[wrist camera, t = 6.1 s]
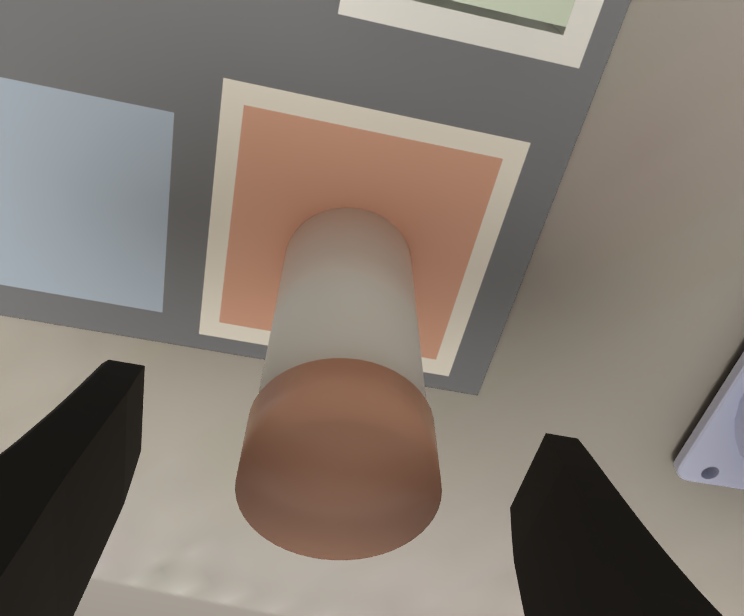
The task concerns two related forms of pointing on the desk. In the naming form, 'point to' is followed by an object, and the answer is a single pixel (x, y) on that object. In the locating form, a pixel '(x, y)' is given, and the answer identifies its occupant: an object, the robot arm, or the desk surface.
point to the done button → (530, 9)
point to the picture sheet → (269, 164)
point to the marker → (342, 399)
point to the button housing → (486, 26)
